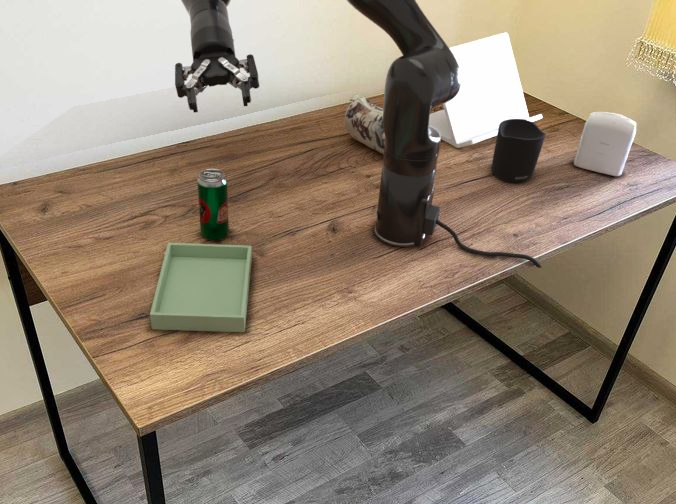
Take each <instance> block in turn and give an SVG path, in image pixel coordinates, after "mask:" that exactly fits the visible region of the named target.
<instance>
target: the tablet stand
mask: <svg viewBox="0 0 676 504" xmlns="http://www.w3.org/2000/svg"><path fill="white" fill-rule="evenodd" d="M449 49H450V50H451V52H452V53H453V55H454V57H455V59H456V61H457V63H458V65H459V69H460V73H461V86H460V90H459V92H458V94H457V95H456V96H455V97H454V98H453V99H452V100H451V101H449V102H447V103H445V104H443V105H442V106H443V107H442V108H443V109H441V110H438V111H435V112H432V113H431V112H430V117H429V125H430V126H432V127H434V128H435V129H437V130H438V132H439V133H440V136H441V140H442V141H444V142H446V143H448V144H449V145H450V146H453V147H454V148H457V149H460V148H464V147H468V146H471V145H475V144H477V143H480V142H482V141H485V140H488V139H491V138H493V137H497V134H498V129H499V125H500V123H501V122H502V121H504V120H508V119H524V120H529V121H531V122H533V123H534V122H536V121H538V120H541V119H543V114H542V113H540V114H539V113H538V114H537V115H533V116H529V115H530V114H529V112H528V111H529V110H528V108H527V103H526V99H525V95H524V92H523V87H522V84H521V80H520V76H519V72H518V67H517V64H516V59H515V56H514V52H513V47H512V44H511V40H510V35H509V33H507V32H503V33H499V34H495V35H491V36H487V37H484V38H480V39H477V40H473V41H469V42H466V43H462V44H459V45H454V46H451V47H449Z"/></svg>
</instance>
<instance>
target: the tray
mask: <svg viewBox="0 0 676 504" xmlns="http://www.w3.org/2000/svg"><path fill="white" fill-rule="evenodd" d="M252 249H253V245H245V244H244V245H241V244H216V243H212V244H211V243H189V242H188V243H187V242H167V245H166V249H165V253H164V257H163V261H162V264H161V268H160V272H159V275H158V280H157V283H156V288H155V292H154V296H153V300H152V304H151V307H150V308H151V309H150V312H149V318H150V326H151V330H157V331H158V330H160V331H161V330H162V331H163V330H164V331H187V332H189V331H191V332H218V333H219V332H221V333H222V332H223V333H225V332H226V333H245V331H246V321H247V314H248V313H247V312H248V303H249V293H250V292H249V291H250V283H251V282H250V281H251V273H252V264H253V263H252V262H253V251H252Z"/></svg>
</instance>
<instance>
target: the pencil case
mask: <svg viewBox="0 0 676 504" xmlns="http://www.w3.org/2000/svg"><path fill="white" fill-rule="evenodd" d="M349 101H350V102H351V103H350V104H349V105H348V107H347V108H346V111H345V114H344V121H343V122H344V128H345V130H346V132H347V133H348V134H349V135H350V136H351V137H352V138H353V139H354V140H356V141H357V142H359V143H362V144H363V145H365V146H366V147H368V148H370V149H371V150H374V151H375V152H378V153H380V154H382V155H384V149H385V133H384V130H383V108H382V107H380V106H377V105H376V104H373V103H371V101H370V99H368V98H367V97H365V96H361V94H359V93H358V94H357V93H356V94H354V95H353V96H352V97H350V99H349Z"/></svg>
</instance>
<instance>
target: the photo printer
mask: <svg viewBox="0 0 676 504" xmlns="http://www.w3.org/2000/svg"><path fill="white" fill-rule="evenodd" d="M636 132H637V122H636V121H635V120H633V119H631V118H629V117H627V116H625V115H623V114H619V113H616V112H611V111H593V112H590V114H589V116H588V117H587V119H586V121H585V123H584V126H583V129H582V133H581V136H580V140H579V142H578V147H577V151H576V153H575V157H574V160H573V165H574V166H575V167H576V168H581V169H584V170H588V171H592V172H596V173H600V174H604V175H608V176H613V177H620V176H621V175H622V173H623V171H624V168H625V165H626V163H627V160H628V156H629V154H630V150H631V148H632V145H633V142H634V139H635V136H636Z"/></svg>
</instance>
